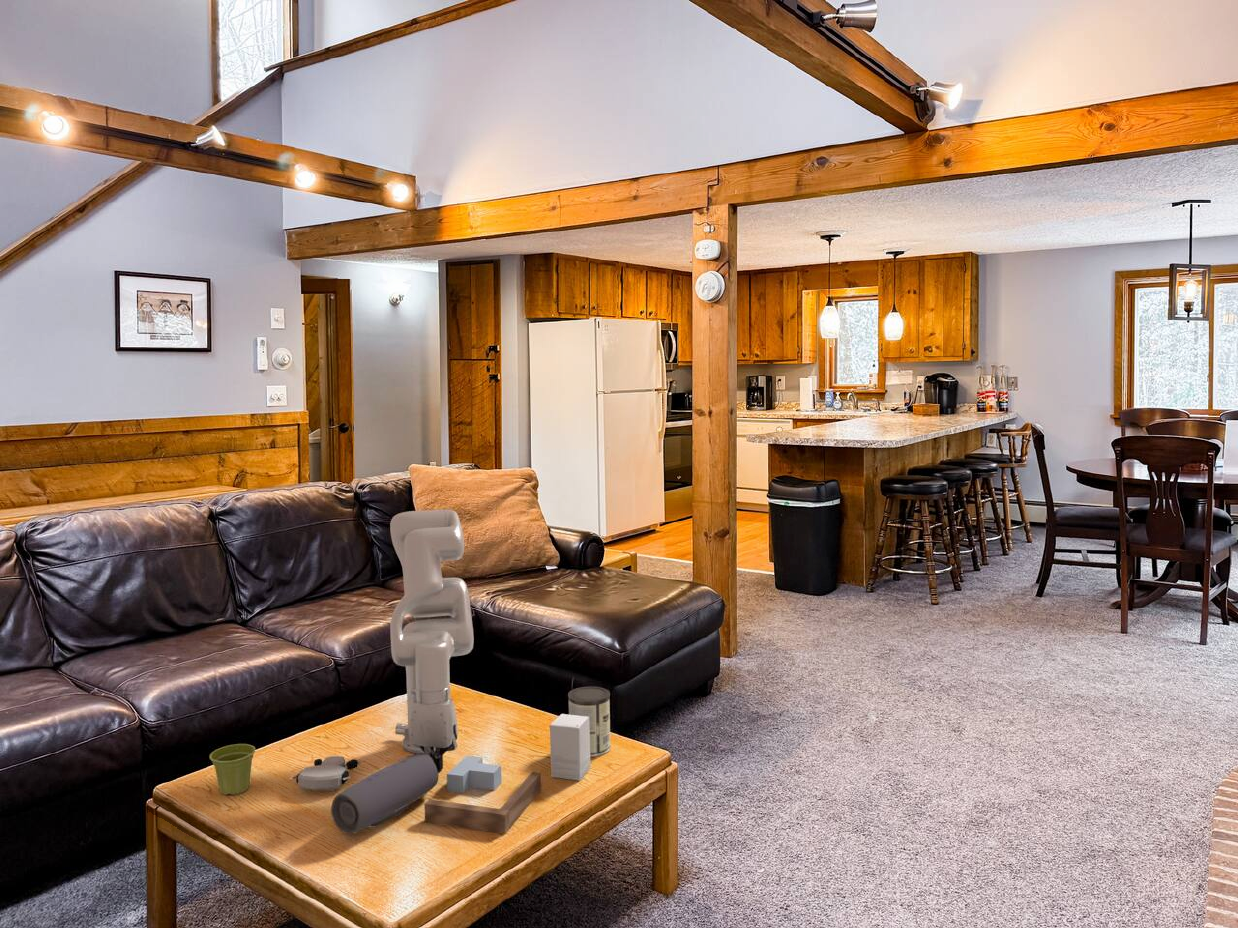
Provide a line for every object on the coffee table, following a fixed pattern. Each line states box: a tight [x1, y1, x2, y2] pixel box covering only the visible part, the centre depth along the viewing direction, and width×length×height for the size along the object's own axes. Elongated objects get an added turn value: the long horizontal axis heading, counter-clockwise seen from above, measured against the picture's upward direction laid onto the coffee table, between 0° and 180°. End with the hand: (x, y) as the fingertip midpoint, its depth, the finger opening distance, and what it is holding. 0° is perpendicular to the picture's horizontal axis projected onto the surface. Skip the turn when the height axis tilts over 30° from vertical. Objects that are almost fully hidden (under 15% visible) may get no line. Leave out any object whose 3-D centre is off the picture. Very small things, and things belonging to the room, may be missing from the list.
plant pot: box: [209, 743, 256, 796], centre depth 202 cm, size 9×9×9 cm
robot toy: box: [289, 755, 363, 791], centre depth 206 cm, size 12×4×15 cm
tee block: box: [446, 755, 503, 794], centre depth 204 cm, size 10×10×4 cm
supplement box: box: [549, 713, 591, 782], centre depth 209 cm, size 7×7×13 cm
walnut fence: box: [424, 771, 542, 834], centre depth 194 cm, size 18×20×4 cm
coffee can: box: [567, 686, 611, 758], centre depth 222 cm, size 10×10×14 cm
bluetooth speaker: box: [330, 753, 439, 835], centre depth 190 cm, size 23×9×10 cm, turn 149°
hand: (435, 772), depth 207 cm, fingers closed
